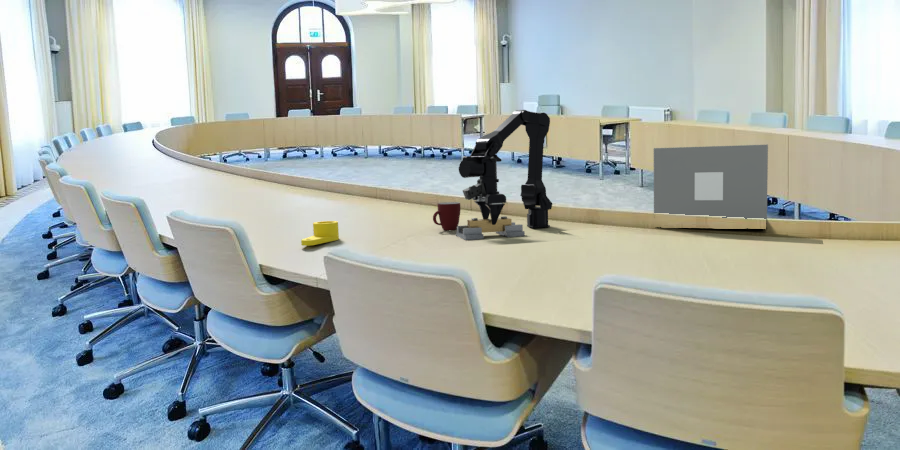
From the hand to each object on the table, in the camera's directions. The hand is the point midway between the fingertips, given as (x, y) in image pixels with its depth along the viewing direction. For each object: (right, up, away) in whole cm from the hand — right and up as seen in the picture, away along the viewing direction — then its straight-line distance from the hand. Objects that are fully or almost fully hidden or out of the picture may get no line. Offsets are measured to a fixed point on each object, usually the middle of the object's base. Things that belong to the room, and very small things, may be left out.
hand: (489, 223), depth 229 cm
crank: (-57, -6, +4) cm, 58 cm away
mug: (-14, -3, +16) cm, 22 cm away
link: (0, -3, 0) cm, 3 cm away
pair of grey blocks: (0, -4, 0) cm, 4 cm away
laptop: (+77, -1, +11) cm, 78 cm away
